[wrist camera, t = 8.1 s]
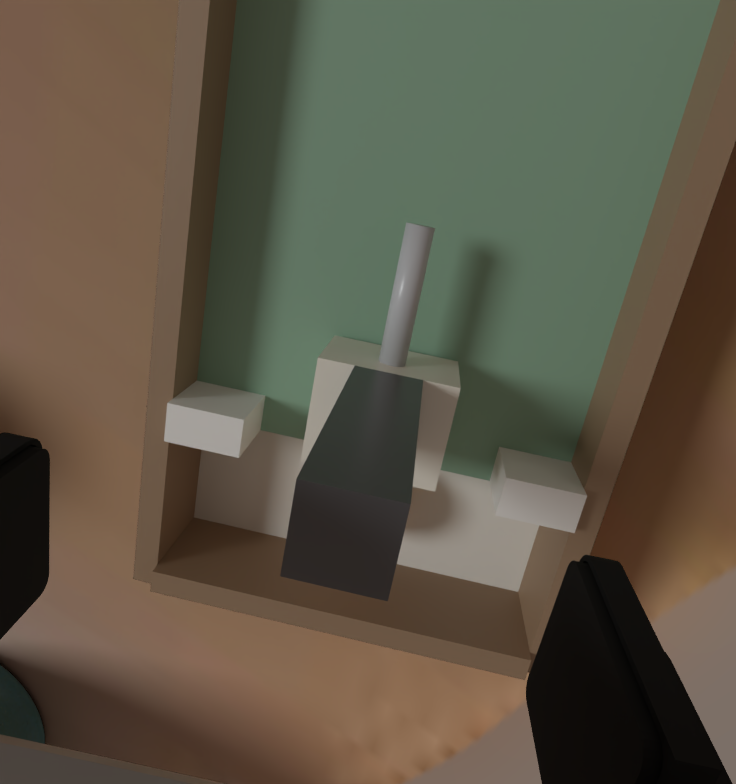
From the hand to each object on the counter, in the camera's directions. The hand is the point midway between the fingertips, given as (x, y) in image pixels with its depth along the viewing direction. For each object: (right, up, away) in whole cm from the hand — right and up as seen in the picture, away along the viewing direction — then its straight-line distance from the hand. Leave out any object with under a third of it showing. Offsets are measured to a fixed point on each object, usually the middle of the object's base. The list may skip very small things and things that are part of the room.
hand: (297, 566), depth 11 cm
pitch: (+3, +7, +16) cm, 17 cm away
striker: (+2, +5, +14) cm, 15 cm away
